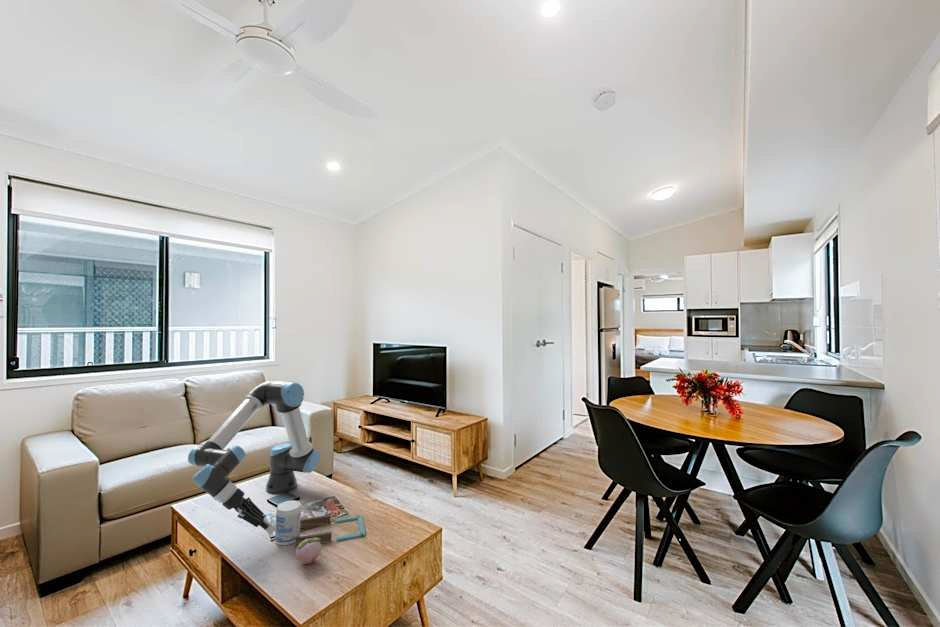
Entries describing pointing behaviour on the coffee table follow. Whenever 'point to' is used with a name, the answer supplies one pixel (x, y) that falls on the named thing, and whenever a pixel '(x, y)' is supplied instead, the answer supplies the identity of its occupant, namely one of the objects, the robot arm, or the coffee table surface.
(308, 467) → the robot arm
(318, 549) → the decorative fruit
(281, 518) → the supplement tub
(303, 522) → the channel walls
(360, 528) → the frame
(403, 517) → the coffee table surface
